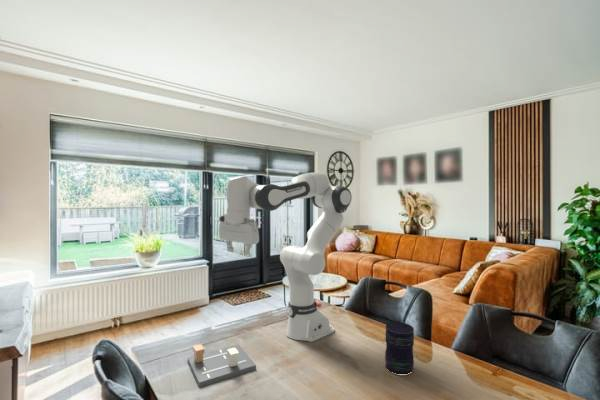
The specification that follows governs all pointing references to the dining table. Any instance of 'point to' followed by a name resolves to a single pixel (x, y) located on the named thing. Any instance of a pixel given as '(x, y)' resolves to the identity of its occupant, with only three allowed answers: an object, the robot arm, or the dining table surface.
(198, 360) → the terracotta fader
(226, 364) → the console
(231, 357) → the cream fader
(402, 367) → the storage jar
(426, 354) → the dining table surface
